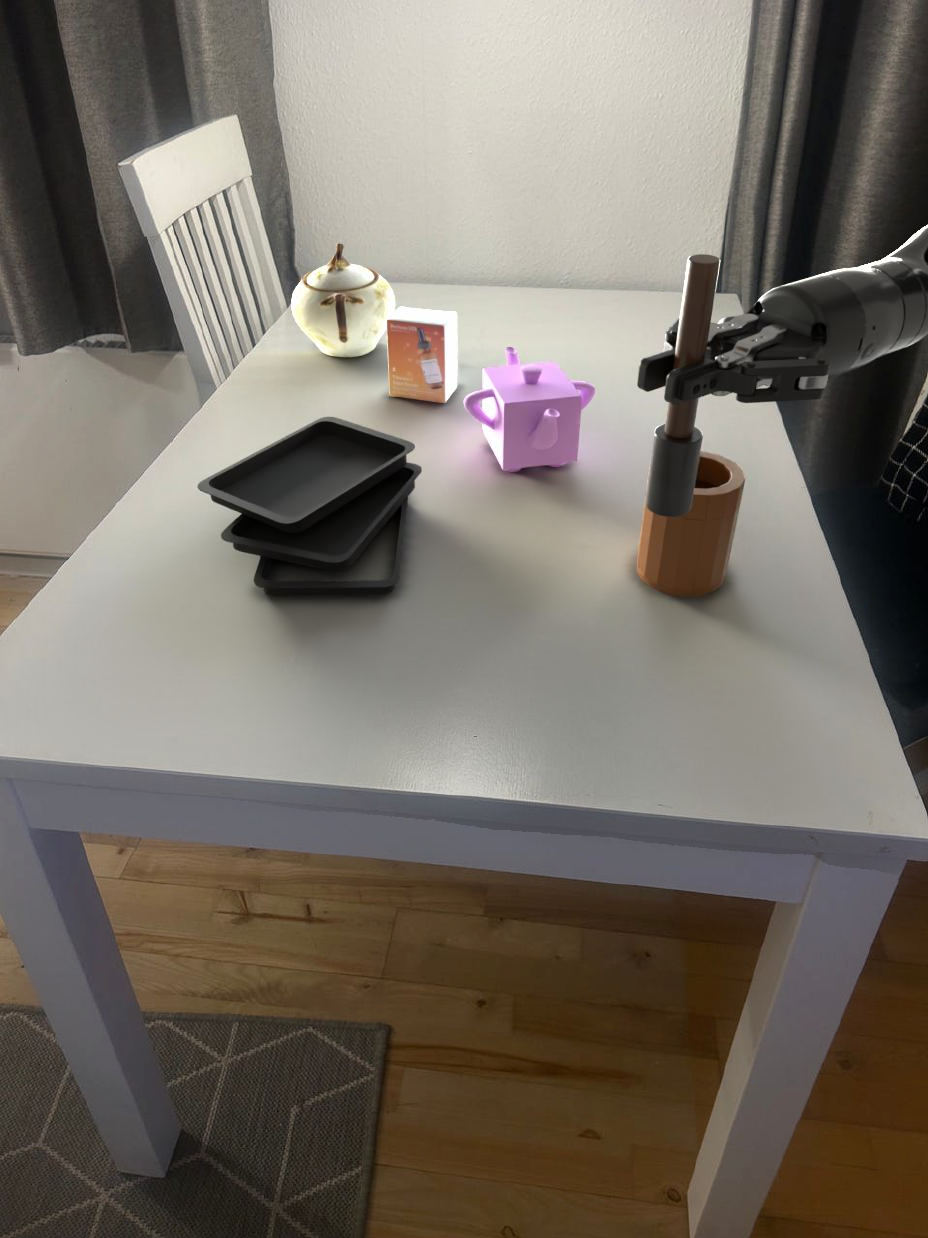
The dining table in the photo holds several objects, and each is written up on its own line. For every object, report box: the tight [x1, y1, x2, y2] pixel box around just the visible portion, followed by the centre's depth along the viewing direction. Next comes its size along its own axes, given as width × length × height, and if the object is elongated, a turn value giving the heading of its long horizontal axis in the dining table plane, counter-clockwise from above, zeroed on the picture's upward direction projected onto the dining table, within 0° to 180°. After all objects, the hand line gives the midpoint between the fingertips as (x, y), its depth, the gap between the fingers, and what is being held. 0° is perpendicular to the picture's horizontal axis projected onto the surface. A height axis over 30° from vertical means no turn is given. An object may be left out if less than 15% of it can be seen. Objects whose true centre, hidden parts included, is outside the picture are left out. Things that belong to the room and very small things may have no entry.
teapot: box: [463, 346, 596, 473], centre depth 105 cm, size 15×13×11 cm
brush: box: [644, 253, 721, 517], centre depth 63 cm, size 3×3×18 cm
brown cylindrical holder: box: [636, 450, 746, 597], centre depth 85 cm, size 8×8×11 cm
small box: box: [386, 305, 458, 404], centre depth 120 cm, size 8×6×10 cm
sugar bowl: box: [290, 242, 396, 358], centre depth 131 cm, size 20×15×15 cm
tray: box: [196, 416, 423, 596], centre depth 95 cm, size 30×23×5 cm
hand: (656, 382), depth 61 cm, fingers closed on brush, 2 cm apart
